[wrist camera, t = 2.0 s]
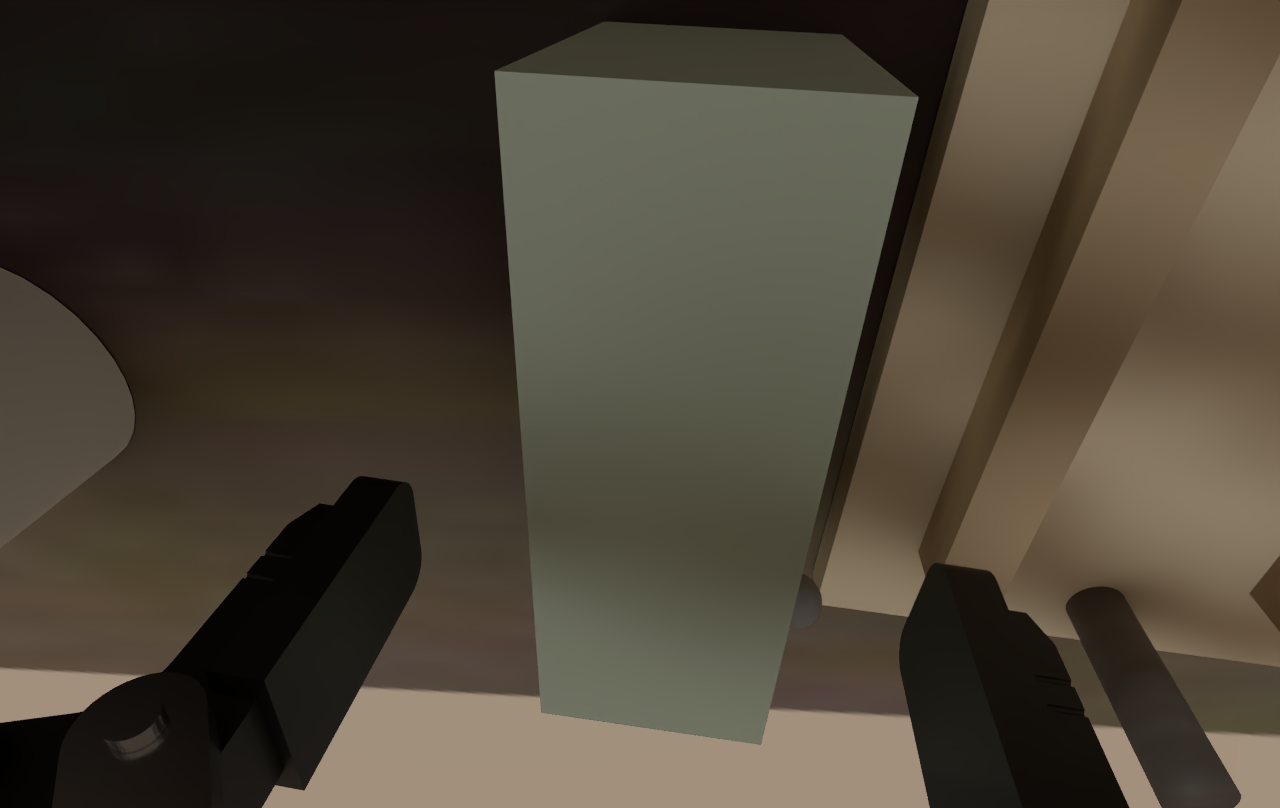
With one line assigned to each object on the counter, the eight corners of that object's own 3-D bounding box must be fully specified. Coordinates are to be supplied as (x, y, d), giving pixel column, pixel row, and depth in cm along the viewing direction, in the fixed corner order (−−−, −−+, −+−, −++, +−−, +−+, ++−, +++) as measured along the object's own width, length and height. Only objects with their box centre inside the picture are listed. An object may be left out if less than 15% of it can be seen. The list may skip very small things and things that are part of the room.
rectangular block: (605, 20, 13) (495, 70, 7) (903, 36, 13) (1035, 104, 7) (601, 491, 20) (541, 712, 14) (797, 514, 19) (818, 753, 14)
